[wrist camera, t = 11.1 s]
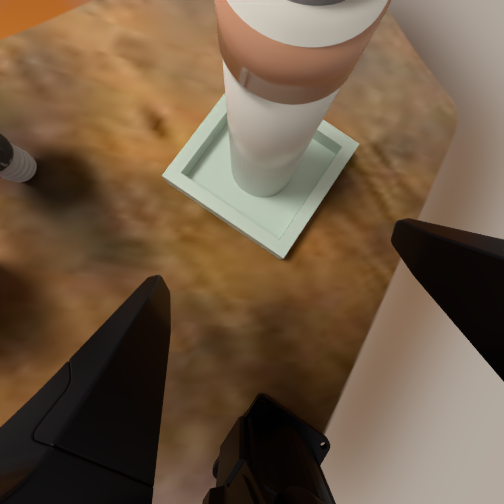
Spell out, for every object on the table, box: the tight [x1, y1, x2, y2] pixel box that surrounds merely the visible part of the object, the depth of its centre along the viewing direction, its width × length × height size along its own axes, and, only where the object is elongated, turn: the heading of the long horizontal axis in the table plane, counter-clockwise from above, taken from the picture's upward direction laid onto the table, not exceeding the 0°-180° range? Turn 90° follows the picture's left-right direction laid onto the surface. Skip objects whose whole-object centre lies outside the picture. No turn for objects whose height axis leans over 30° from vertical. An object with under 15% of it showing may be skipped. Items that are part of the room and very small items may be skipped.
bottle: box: [215, 0, 391, 197], centre depth 12 cm, size 5×5×14 cm
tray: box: [162, 94, 359, 259], centre depth 18 cm, size 11×11×2 cm
